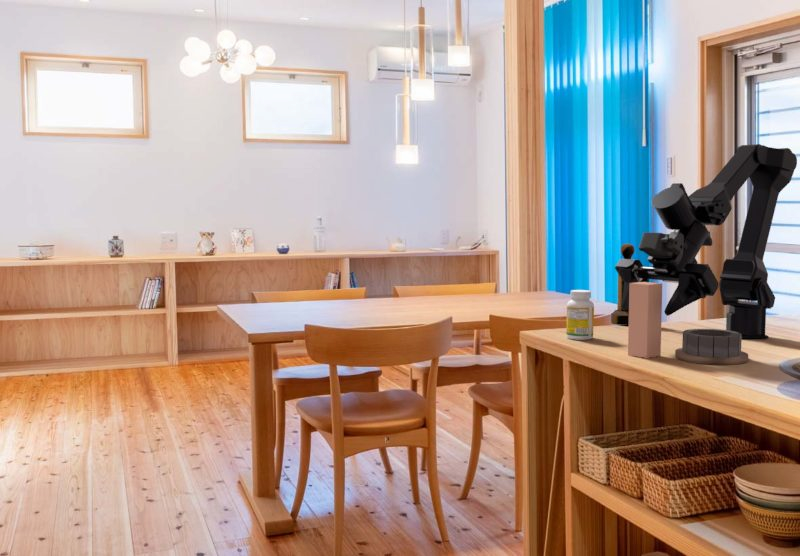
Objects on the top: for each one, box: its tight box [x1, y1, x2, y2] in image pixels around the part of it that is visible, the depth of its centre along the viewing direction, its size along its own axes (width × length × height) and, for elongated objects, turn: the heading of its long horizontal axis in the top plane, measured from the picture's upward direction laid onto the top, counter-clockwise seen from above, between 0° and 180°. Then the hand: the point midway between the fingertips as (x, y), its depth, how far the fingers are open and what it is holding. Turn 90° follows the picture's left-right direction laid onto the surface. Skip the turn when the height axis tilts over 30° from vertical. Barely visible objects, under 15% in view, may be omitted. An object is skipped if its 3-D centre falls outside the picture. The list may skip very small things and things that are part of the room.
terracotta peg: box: [627, 281, 663, 359], centre depth 148 cm, size 4×4×13 cm
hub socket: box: [674, 328, 749, 366], centre depth 146 cm, size 12×12×4 cm
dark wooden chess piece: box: [610, 243, 635, 326], centre depth 187 cm, size 7×6×18 cm
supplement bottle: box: [566, 289, 595, 341], centre depth 168 cm, size 5×5×10 cm
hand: (643, 311), depth 148 cm, fingers open, 9 cm apart
